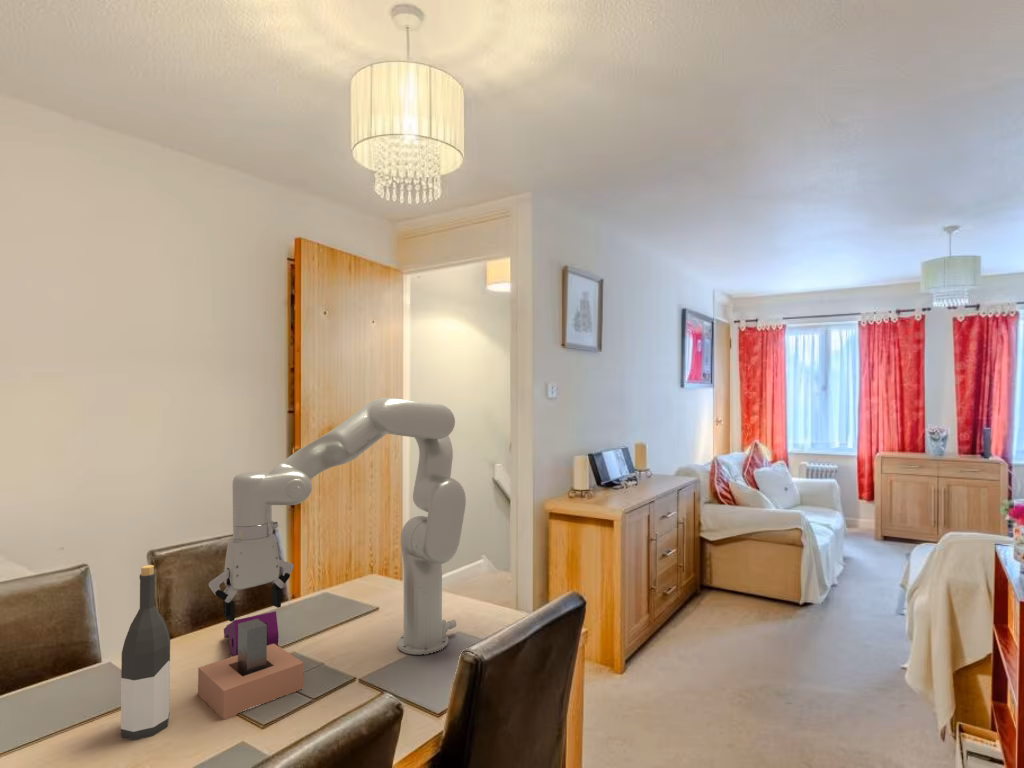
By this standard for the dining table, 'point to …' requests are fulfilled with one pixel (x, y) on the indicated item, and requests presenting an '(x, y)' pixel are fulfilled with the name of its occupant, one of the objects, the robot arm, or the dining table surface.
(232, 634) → the mounting bracket
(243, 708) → the well holder
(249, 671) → the steel bar
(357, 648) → the dining table surface
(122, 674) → the wine bottle
